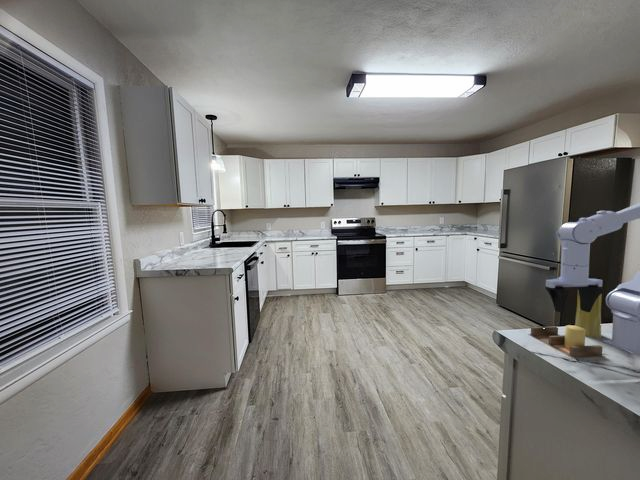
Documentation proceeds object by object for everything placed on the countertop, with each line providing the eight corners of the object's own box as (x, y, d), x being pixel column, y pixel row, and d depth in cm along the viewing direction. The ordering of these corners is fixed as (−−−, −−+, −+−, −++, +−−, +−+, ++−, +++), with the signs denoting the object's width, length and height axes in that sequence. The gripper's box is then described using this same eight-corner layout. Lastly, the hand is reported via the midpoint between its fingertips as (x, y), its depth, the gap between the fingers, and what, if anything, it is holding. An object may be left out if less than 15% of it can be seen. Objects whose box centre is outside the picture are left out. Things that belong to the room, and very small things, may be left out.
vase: (607, 339, 80) (609, 293, 79) (583, 338, 81) (585, 292, 80) (591, 331, 86) (593, 288, 85) (569, 330, 87) (570, 287, 86)
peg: (574, 345, 76) (575, 325, 75) (588, 352, 72) (590, 331, 71) (560, 345, 76) (561, 325, 75) (573, 352, 72) (575, 331, 71)
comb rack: (555, 334, 84) (555, 325, 84) (605, 358, 70) (606, 347, 69) (527, 335, 84) (528, 326, 84) (572, 359, 69) (572, 348, 69)
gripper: (585, 261, 79) (583, 306, 80) (537, 262, 79) (535, 307, 80) (611, 265, 72) (609, 314, 73) (559, 267, 71) (557, 316, 72)
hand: (572, 311), depth 76 cm, fingers open, 7 cm apart
